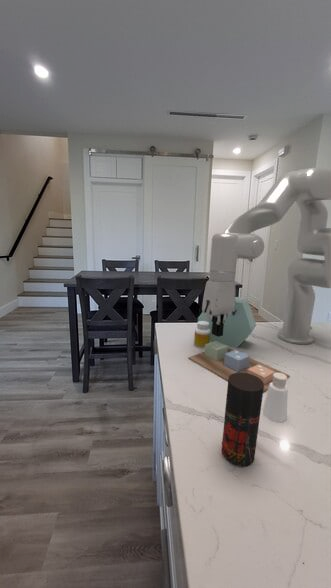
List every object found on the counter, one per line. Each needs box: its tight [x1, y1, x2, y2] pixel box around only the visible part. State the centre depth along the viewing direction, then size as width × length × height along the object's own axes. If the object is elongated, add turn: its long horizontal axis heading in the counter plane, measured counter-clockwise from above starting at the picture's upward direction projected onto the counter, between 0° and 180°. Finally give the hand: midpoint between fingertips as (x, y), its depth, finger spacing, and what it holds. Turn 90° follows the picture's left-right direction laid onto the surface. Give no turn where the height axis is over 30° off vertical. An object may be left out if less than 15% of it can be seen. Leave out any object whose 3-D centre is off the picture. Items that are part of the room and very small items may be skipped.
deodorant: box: [221, 373, 264, 468], centre depth 48 cm, size 6×6×15 cm
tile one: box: [203, 341, 229, 361], centre depth 84 cm, size 5×5×4 cm
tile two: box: [224, 349, 251, 373], centre depth 78 cm, size 5×5×4 cm
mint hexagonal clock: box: [197, 296, 257, 349], centre depth 96 cm, size 17×8×21 cm
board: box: [187, 347, 290, 394], centre depth 78 cm, size 16×24×2 cm, turn 38°
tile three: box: [247, 364, 275, 386], centre depth 72 cm, size 5×5×4 cm
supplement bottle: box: [193, 320, 211, 349], centre depth 92 cm, size 5×5×10 cm
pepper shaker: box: [262, 373, 289, 423], centre depth 58 cm, size 5×5×11 cm
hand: (217, 334), depth 83 cm, fingers closed
